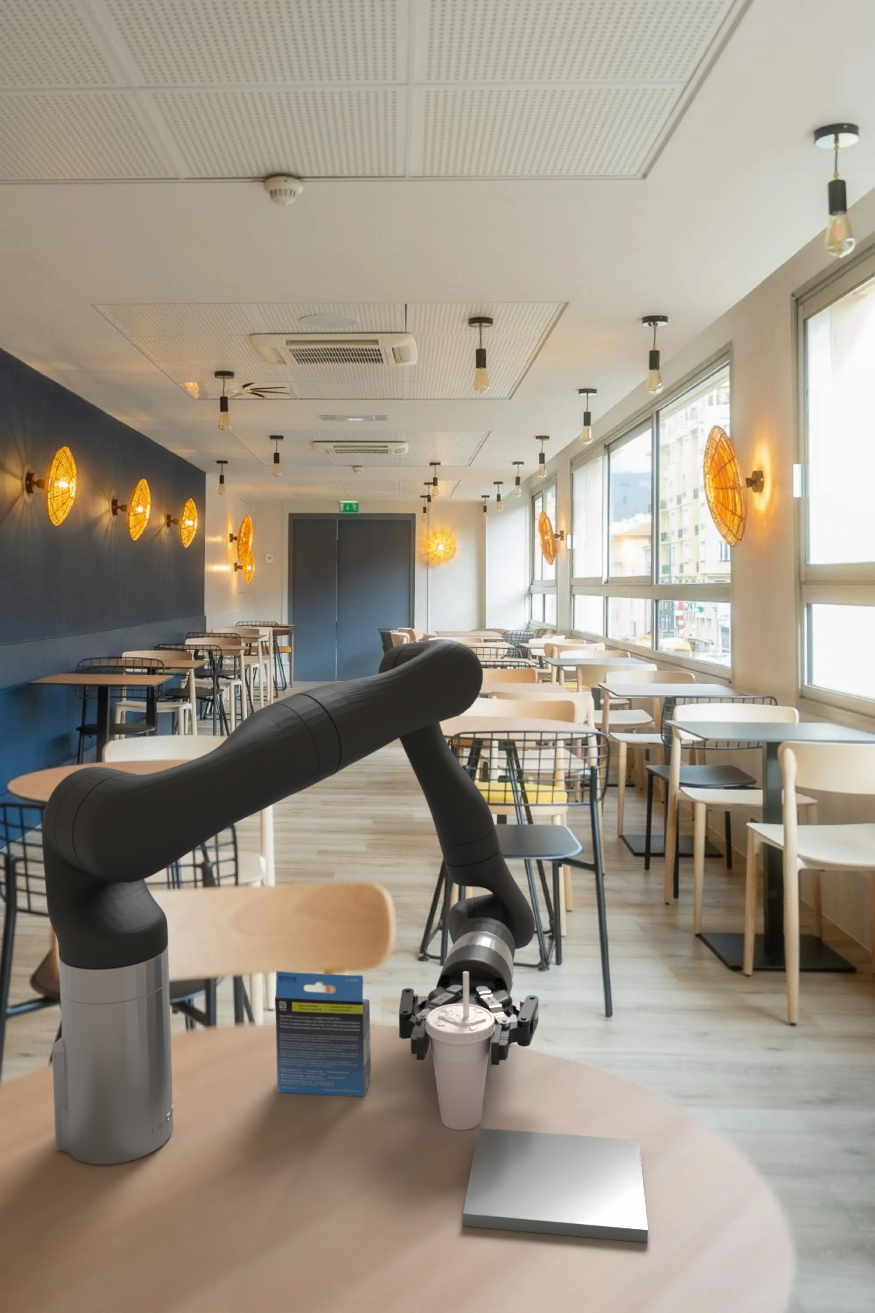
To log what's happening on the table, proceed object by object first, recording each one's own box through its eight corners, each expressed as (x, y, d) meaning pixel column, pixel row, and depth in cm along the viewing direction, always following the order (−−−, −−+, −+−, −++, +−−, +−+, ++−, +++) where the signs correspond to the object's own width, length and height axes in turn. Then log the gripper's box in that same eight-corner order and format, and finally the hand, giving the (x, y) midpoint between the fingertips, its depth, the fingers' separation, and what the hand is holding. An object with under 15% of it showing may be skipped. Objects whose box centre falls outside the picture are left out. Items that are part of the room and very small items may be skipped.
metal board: (462, 1226, 76) (462, 1213, 76) (478, 1138, 88) (478, 1128, 88) (647, 1242, 74) (647, 1230, 74) (638, 1151, 86) (638, 1140, 86)
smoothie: (490, 1142, 87) (489, 989, 86) (419, 1134, 89) (417, 983, 88) (500, 1104, 94) (499, 961, 93) (434, 1097, 95) (432, 956, 94)
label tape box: (372, 1079, 99) (371, 959, 98) (365, 1100, 95) (363, 975, 94) (286, 1074, 100) (284, 956, 99) (275, 1095, 96) (273, 972, 95)
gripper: (409, 940, 105) (378, 1008, 89) (545, 946, 103) (538, 1017, 87) (410, 1008, 106) (378, 1088, 90) (544, 1016, 104) (538, 1099, 87)
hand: (457, 1052), depth 88 cm, fingers closed on smoothie, 6 cm apart
